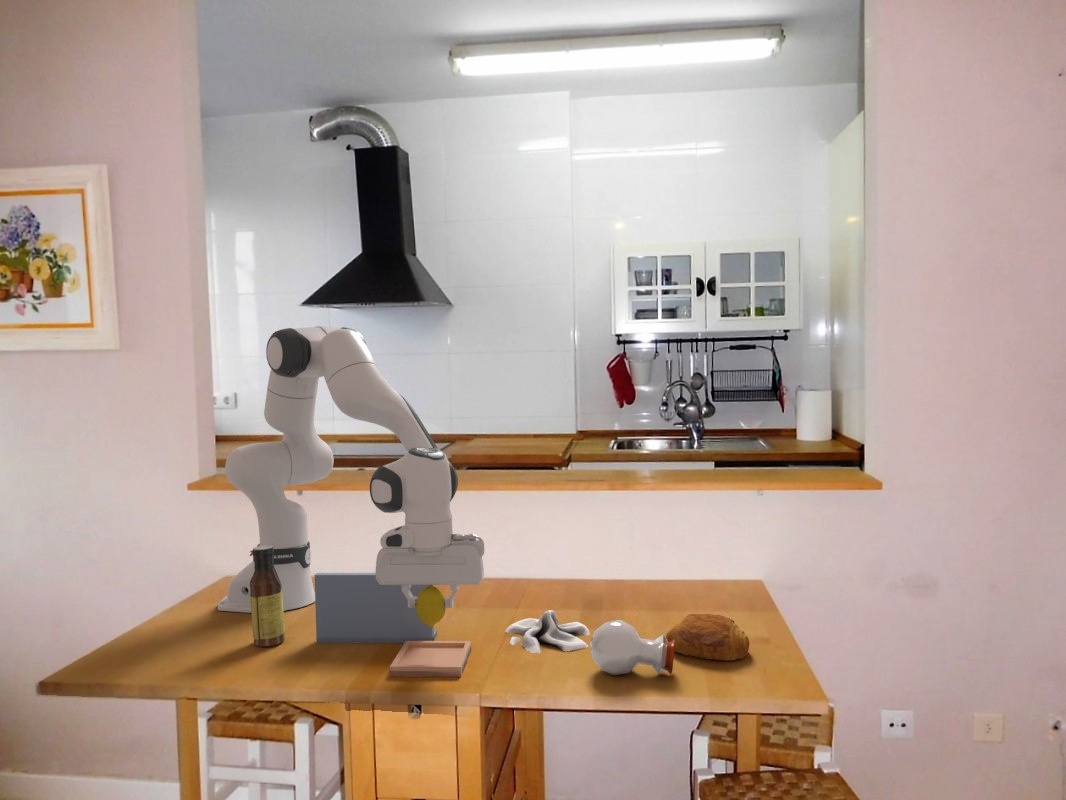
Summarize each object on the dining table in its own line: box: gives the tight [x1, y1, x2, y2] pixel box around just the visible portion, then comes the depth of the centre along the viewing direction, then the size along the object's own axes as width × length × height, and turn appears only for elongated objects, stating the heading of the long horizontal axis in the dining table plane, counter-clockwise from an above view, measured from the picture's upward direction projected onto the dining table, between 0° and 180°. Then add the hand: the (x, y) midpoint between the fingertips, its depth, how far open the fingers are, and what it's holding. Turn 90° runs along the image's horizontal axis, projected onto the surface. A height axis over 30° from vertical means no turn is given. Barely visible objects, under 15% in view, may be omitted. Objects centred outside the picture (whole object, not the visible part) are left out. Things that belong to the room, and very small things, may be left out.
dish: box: [389, 640, 472, 678], centre depth 145 cm, size 13×13×2 cm
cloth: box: [504, 609, 591, 654], centre depth 156 cm, size 22×19×6 cm
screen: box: [314, 572, 438, 644], centre depth 158 cm, size 24×5×14 cm, turn 86°
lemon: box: [416, 585, 447, 627], centre depth 144 cm, size 6×6×8 cm
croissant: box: [665, 613, 750, 662], centre depth 149 cm, size 14×16×8 cm
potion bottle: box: [589, 619, 675, 676], centre depth 138 cm, size 9×10×15 cm
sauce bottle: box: [250, 545, 286, 648], centre depth 156 cm, size 7×6×20 cm
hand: (430, 607), depth 144 cm, fingers closed on lemon, 6 cm apart
